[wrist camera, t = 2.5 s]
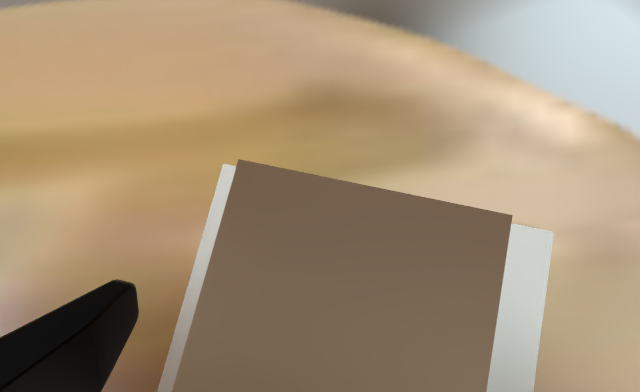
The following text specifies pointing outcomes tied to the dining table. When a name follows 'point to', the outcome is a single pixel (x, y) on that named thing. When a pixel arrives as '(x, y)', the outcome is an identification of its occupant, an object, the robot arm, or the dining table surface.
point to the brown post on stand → (344, 290)
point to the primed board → (512, 321)
